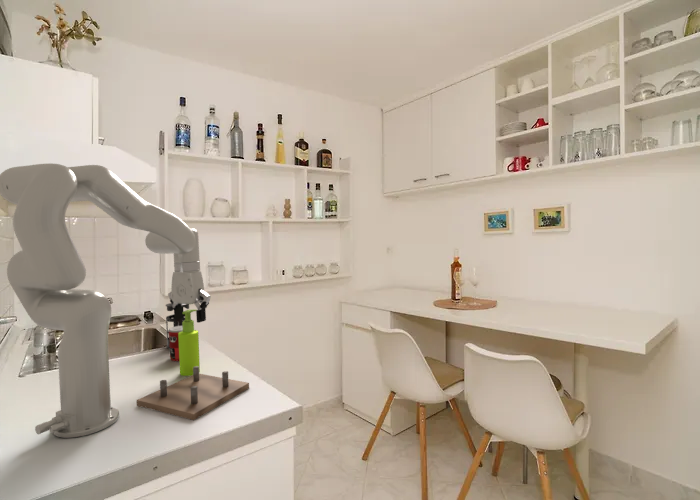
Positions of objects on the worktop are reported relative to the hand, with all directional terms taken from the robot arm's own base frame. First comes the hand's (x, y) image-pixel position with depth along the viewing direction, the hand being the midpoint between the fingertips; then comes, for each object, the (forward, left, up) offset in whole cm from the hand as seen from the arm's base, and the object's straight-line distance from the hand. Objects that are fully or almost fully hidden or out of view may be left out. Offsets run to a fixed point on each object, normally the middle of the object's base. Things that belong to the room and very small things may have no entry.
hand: (190, 320), depth 120 cm
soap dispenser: (-1, 0, -17) cm, 17 cm away
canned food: (+8, +14, -17) cm, 24 cm away
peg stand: (-14, -16, -17) cm, 27 cm away
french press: (+19, +28, -17) cm, 38 cm away
